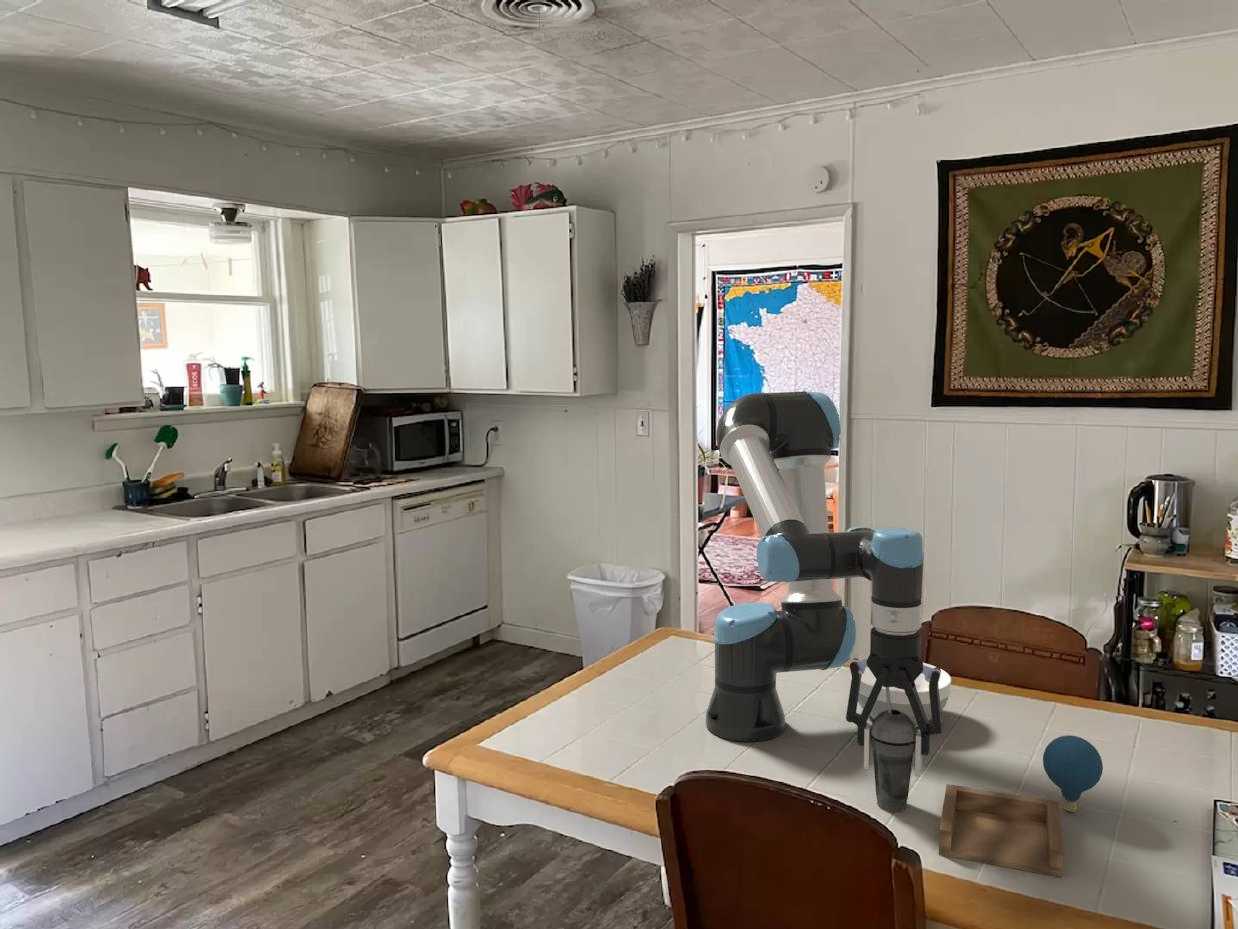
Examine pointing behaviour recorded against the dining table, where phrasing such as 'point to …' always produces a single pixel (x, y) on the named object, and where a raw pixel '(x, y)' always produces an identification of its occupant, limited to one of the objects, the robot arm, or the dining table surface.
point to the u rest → (1001, 830)
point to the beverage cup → (892, 757)
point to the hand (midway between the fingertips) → (892, 768)
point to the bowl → (903, 694)
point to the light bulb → (1072, 767)
